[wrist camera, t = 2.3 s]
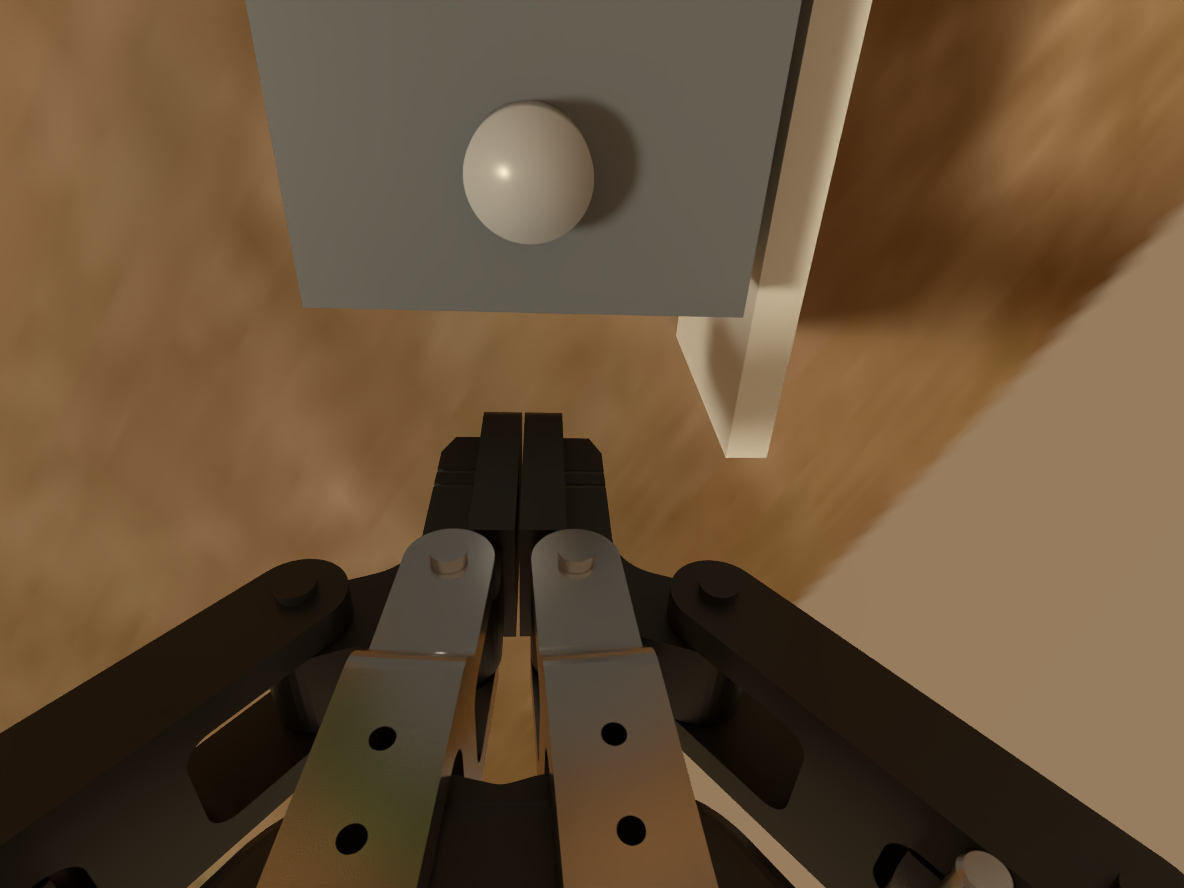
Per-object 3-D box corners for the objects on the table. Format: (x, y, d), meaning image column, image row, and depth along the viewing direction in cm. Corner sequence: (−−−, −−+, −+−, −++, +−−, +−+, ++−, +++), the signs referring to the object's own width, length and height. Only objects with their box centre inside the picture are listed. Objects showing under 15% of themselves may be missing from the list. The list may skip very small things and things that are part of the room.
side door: (776, -474, 13) (967, -847, 7) (861, -464, 13) (1115, -819, 7) (672, 335, 22) (721, 457, 16) (724, 336, 22) (790, 458, 17)
